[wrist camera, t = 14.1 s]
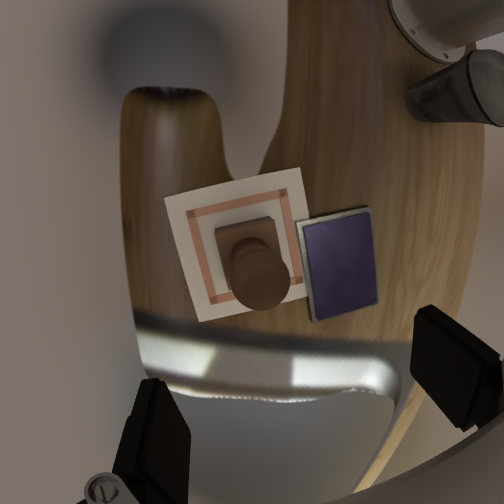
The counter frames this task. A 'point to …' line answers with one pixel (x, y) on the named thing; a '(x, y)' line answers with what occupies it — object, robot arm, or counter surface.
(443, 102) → the beverage cup
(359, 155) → the counter surface
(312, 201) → the counter surface
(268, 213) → the print card
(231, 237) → the stamp
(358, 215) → the ink pad
